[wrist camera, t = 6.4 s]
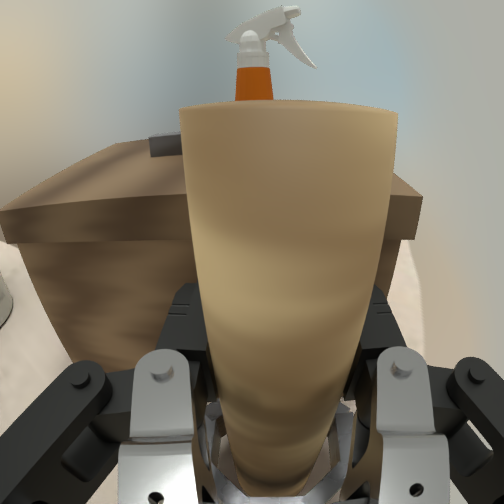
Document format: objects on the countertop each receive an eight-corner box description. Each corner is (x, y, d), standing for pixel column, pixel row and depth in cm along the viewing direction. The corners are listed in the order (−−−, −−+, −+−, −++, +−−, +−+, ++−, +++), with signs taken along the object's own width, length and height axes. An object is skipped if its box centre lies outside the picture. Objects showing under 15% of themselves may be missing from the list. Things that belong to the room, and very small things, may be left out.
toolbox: (77, 383, 17) (-10, 189, 10) (139, 268, 30) (113, 130, 23) (361, 399, 16) (427, 165, 9) (327, 268, 29) (339, 119, 22)
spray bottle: (302, 242, 34) (303, -5, 20) (219, 226, 38) (206, 9, 25) (319, 219, 39) (322, 12, 26) (245, 206, 43) (238, 19, 30)
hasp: (192, 517, 9) (118, 450, 5) (214, 372, 16) (193, 245, 12) (353, 515, 8) (443, 443, 4) (334, 372, 16) (360, 244, 12)
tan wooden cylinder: (235, 502, 11) (144, 118, 3) (239, 444, 14) (202, 102, 6) (308, 501, 11) (440, 124, 3) (305, 444, 14) (360, 104, 6)
